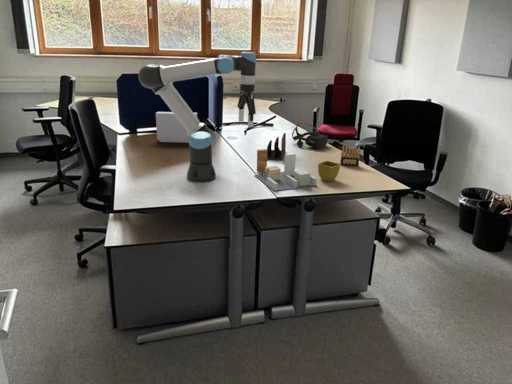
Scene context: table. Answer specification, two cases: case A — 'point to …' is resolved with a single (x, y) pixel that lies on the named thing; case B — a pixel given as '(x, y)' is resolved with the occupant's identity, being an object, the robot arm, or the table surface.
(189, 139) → the robot arm
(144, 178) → the table surface
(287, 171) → the sage block
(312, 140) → the virtual reality headset
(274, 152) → the letter holder
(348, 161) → the ammunition clip
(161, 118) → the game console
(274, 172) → the birch block
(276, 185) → the lane rack
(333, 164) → the flower pot
